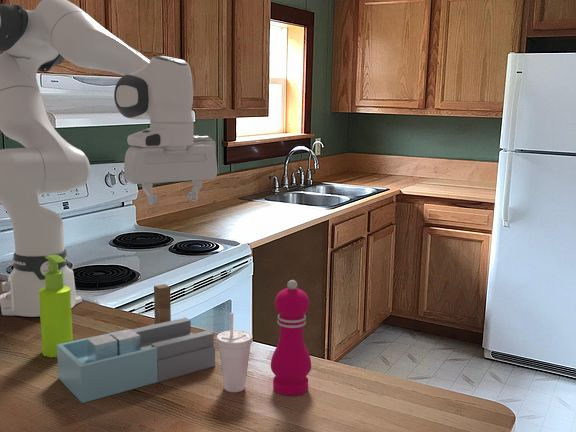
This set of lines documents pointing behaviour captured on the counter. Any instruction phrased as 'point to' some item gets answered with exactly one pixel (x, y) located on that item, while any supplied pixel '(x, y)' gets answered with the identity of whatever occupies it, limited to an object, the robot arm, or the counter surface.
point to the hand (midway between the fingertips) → (173, 202)
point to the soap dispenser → (55, 309)
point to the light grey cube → (101, 347)
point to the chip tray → (104, 371)
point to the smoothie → (234, 357)
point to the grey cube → (127, 341)
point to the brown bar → (162, 303)
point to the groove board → (178, 347)
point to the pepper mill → (291, 342)
